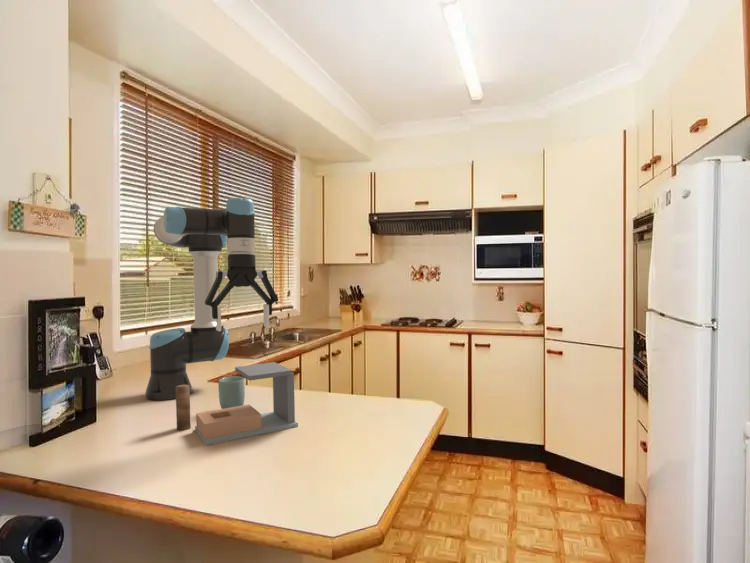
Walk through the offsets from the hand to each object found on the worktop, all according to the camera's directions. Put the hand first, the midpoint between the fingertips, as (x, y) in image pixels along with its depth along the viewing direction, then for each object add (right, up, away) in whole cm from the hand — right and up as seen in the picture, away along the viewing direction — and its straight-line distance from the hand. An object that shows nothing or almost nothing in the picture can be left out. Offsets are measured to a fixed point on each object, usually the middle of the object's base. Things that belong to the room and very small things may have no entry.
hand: (243, 328), depth 132 cm
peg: (-17, -28, 0) cm, 33 cm away
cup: (-8, -28, +16) cm, 33 cm away
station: (+1, -28, -1) cm, 28 cm away
